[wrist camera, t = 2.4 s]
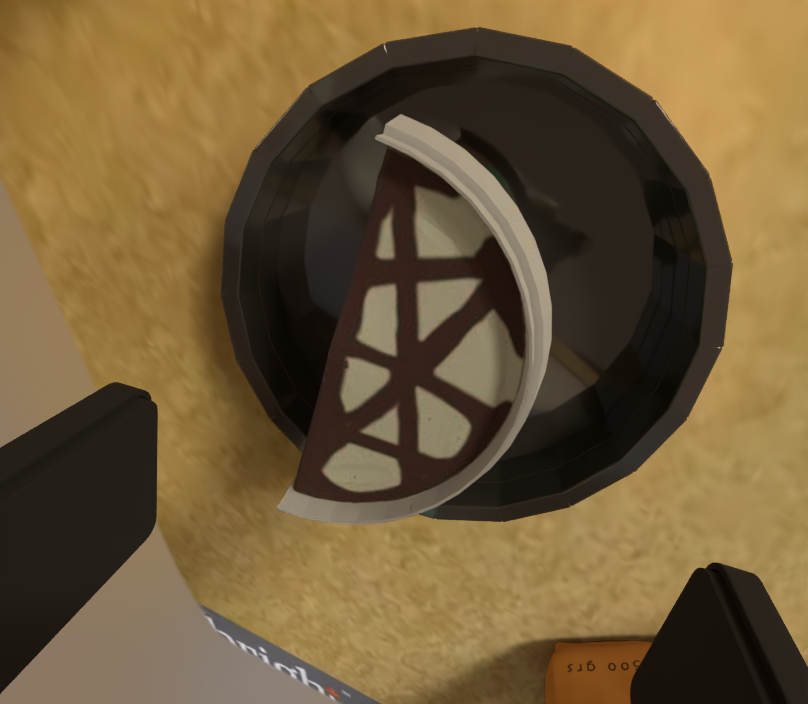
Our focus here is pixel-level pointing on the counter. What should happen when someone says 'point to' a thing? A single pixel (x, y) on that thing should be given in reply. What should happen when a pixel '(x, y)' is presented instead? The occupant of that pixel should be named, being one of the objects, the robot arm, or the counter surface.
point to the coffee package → (593, 672)
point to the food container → (426, 341)
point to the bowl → (549, 224)
